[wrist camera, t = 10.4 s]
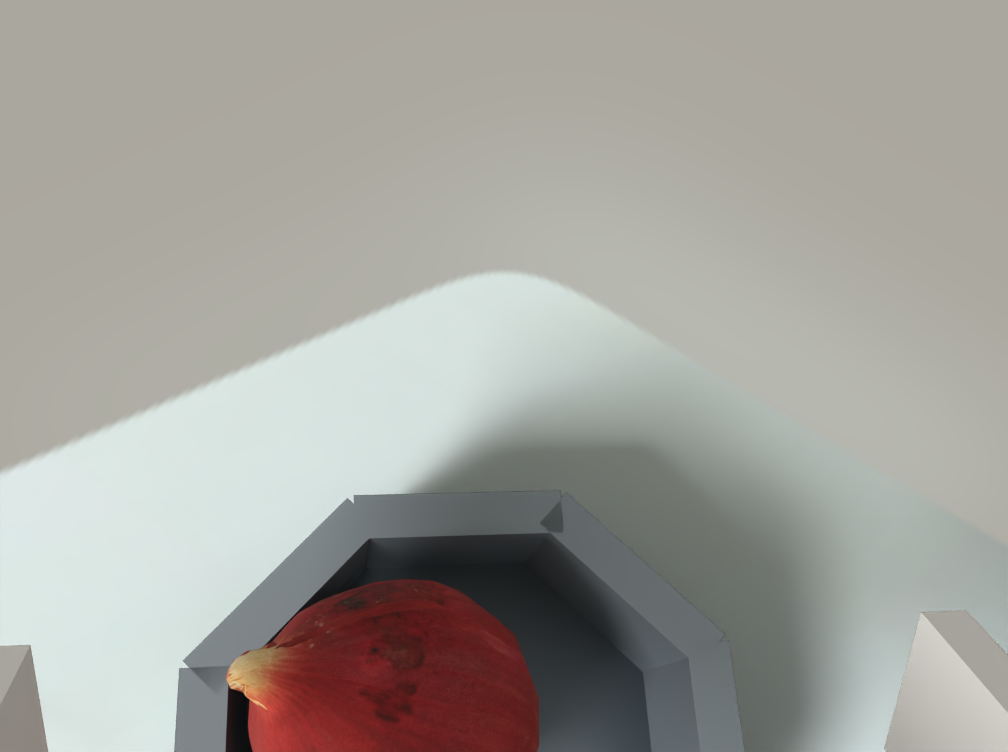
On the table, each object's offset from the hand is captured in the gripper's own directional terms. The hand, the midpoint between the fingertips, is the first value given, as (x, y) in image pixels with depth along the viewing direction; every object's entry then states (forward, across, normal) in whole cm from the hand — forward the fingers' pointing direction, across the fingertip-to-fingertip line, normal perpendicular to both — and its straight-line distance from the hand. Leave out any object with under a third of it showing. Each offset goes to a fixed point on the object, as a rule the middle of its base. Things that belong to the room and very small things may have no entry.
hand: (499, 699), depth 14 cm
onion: (+6, +1, -7) cm, 9 cm away
